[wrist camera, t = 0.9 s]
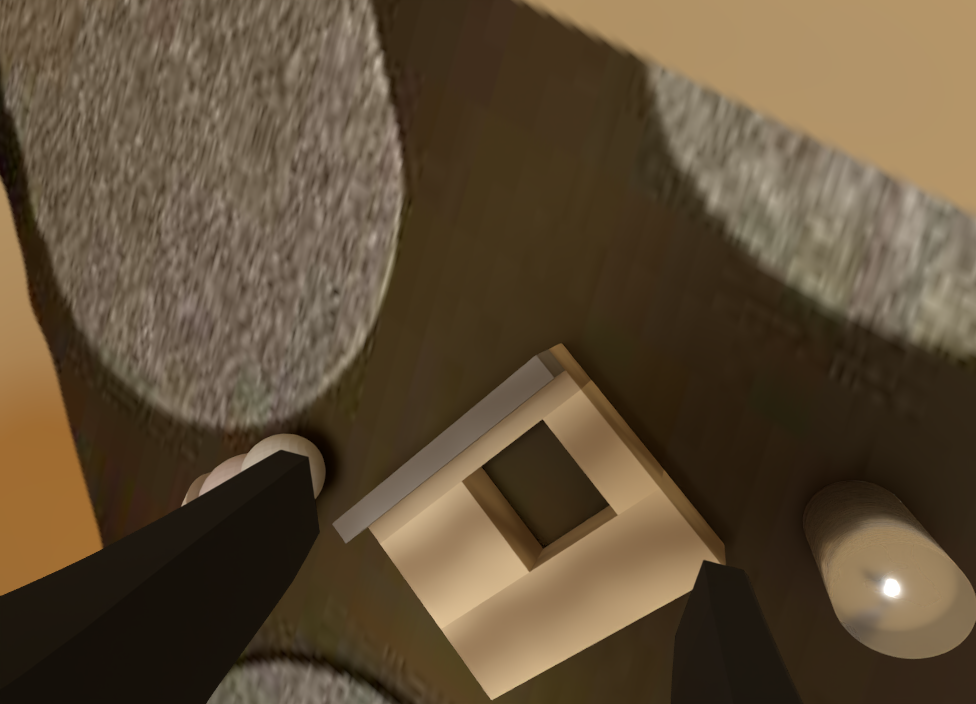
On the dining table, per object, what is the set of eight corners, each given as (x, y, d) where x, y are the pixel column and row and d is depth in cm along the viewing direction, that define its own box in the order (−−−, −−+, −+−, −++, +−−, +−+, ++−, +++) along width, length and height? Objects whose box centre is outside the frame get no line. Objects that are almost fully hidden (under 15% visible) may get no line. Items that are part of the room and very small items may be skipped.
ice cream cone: (191, 560, 39) (344, 431, 36) (186, 649, 34) (359, 510, 31) (100, 538, 35) (263, 390, 32) (80, 635, 30) (268, 475, 27)
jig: (724, 544, 26) (728, 596, 22) (507, 668, 31) (476, 729, 27) (561, 342, 28) (536, 355, 23) (380, 491, 32) (332, 523, 28)
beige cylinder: (935, 540, 23) (1009, 625, 17) (844, 586, 24) (885, 677, 19) (867, 462, 24) (917, 520, 18) (782, 511, 25) (804, 578, 19)
